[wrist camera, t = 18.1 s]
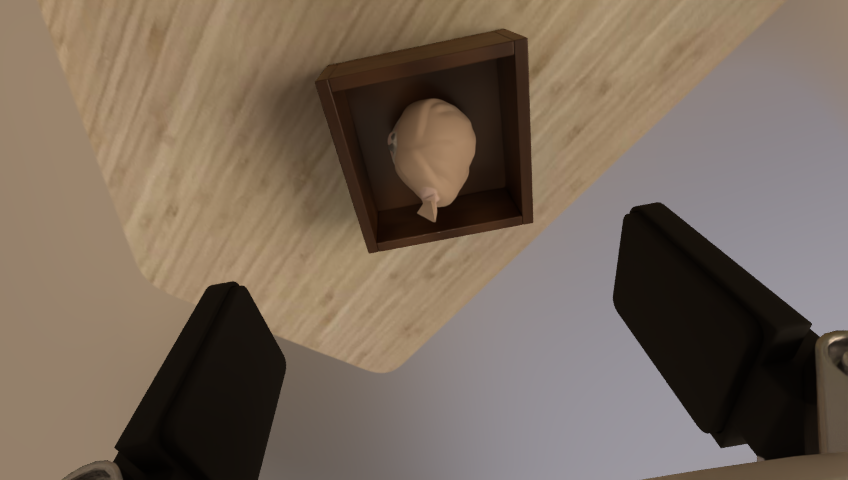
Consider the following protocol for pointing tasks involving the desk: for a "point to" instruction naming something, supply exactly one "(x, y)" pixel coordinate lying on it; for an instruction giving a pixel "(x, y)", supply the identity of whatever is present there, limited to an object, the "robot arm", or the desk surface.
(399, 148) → the garlic bulb
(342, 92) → the holder
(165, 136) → the desk surface
